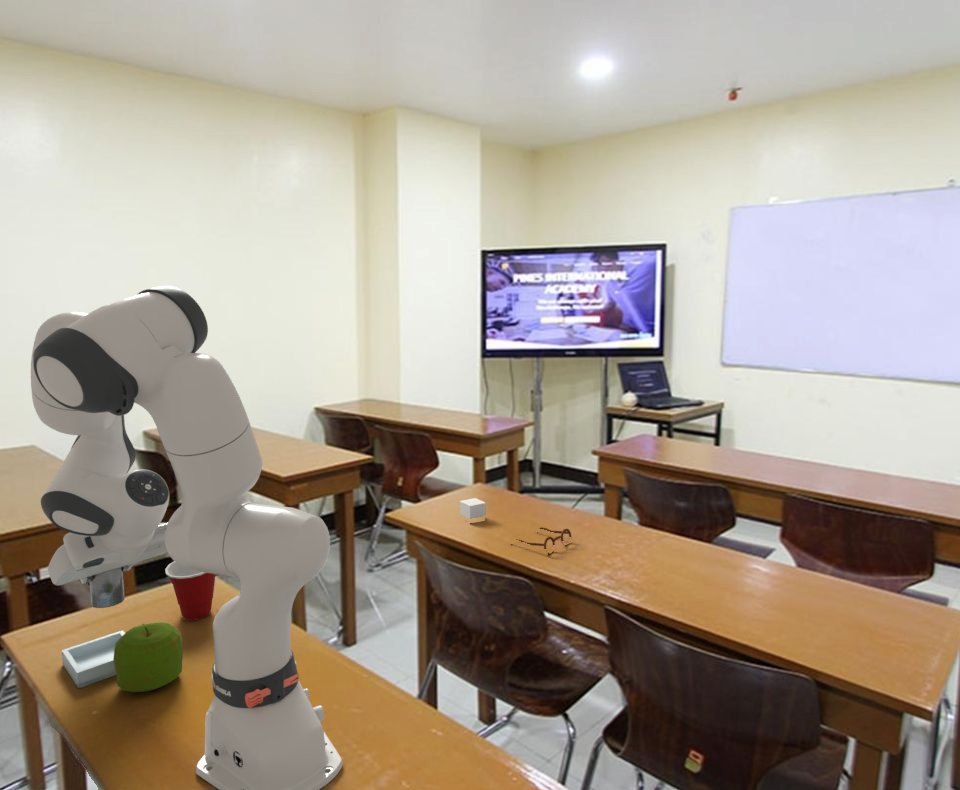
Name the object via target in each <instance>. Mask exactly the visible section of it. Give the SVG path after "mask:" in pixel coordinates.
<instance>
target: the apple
mask: <svg viewBox="0 0 960 790" xmlns="http://www.w3.org/2000/svg"><path fill="white" fill-rule="evenodd" d="M183 653H184V652H183V637H182V634H181V632H180V631H179V629H178V628H176V627H175V626H174V625H172V624H170V623H167V622H151V623H145V624H140V625H137V626H133V627H132V628H131V629H128V630H127V631H126V632H125V634H124V635H123V636H122V637H121V638H120V639H119V640H118V641H117V642H116V645H115V650H114V664H115V670H116V675H115V676H116V681H117V687H119V689H121V691H122V692H123V691H124V692H131V693H146V692H150V691H155V690H157V689H159V688H162V687H164V686H166V685H168V684H169V683H171V682H172V681H174V680H176V679H178V677H179V676H180V674H182V673H181V672H182V670H183V669H182V668H183Z"/></svg>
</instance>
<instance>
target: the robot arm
mask: <svg viewBox="0 0 960 790" xmlns="http://www.w3.org/2000/svg"><path fill="white" fill-rule="evenodd" d="M208 326H209V325H208V321H207V318H206V316H205V312H204V311H203V309H202V307H201V306H200V305H199V303H198V302H197V301H196V300H195V299H194V298H193V297H192V296H191V295H190V294H189V293H187V292H186V291H184V290H183V289H181V288H178V287H176V286H172V285H161V286H155V287H151V288H150V287H149V288H147V289H144V290H141V291H139V292H138V293H137V294H136V295H131V296H129V297H127V298H123V299H120V300H118V301H116V302H113V303H111V304H109V305H108V304H107V305H102V306H100V307H99V308H98V307H97V309H94V310H93V311H91V312H89V313H87V312H78V311H67V312H62V313H59V314H56V315H53V316H52V317H49V318H47V319H46V320H45V321H44V322H43V323H42V324H41V325H40V326H39V328H38V330H37V331H36V334H35V337H34V342H33V347H32V351H31V360H30V386H31V387H30V388H31V398H32V404H33V407H34V410H35V413H36V414H37V416H38V419H39V420H40V421H41V422H42V423H43V424H44V425H46V426H47V427H48V428H50V429H52V430H53V431H56V432H58V433H60V434H61V433H62V434H65V435H69V436H70V435H71V436H76V438H75V440H74V441H73V444H72V446H71V448H70V449H69V450H70V451H68V453H67V455H66V456H65V459H64V460H63V462H62V463H61V465H60V467H59V469H58V470H57V472H56V473H55V475H54V476H53V478H52V480H51V482H49V484H48V486H47V488H46V489H45V491H44V494H43V495H42V496H41V497H40V506H41V509H42V511H43V513H44V515H45V516H46V518H47V520H49V522H51V523H52V524H53V525H54V526H55V527H56V528H58V529H60V530H62V531H65V532H66V534H64V536H63V538H62V539H63V540H62V541H63V544H62V545H61V546H60V547H58V548H57V549H56V551H55V552H54V554H53V555H52V557H51V559H50V561H49V563H48V568H47V571H48V575H49V578H50V579H51V582H52V584H53V585H55V586H62V585H65V584H68V583H73V582H75V581H78V580H79V581H80V583H81V585H85V584H89V583H90V582H91V580H92V579H93V577H92V575H96V574H99V573H102V572H106V571H109V570H112V569H116V568H119V567H122V572H128V571H130V570H131V569H132V567H134V566H135V565H137V564H138V563H140V562H142V561H146V560H149V559H153V558H155V557H158V556H162V555H164V554H166V553H167V554H168V555H169V557H170V558H171V559H172V561H173V562H174V561H176V562H178V563H180V564H183V565H185V566H187V567H189V568H192V569H194V570H197V571H200V572H205V573H212V574H216V575H217V576H218V575H219V576H226V577H232V578H236V579H238V581H239V585H240V593H239V594H238V595H236V596H234V597H231V599H229V600H228V601H227V602H225V603H224V604H223V605H222V606H221V607H220V609H219V610H218V611H217V612H216V614H215V617H214V619H213V621H212V638H213V641H212V642H213V656H214V663H213V664H212V668H211V669H212V670H211V671H212V672H211V685H212V691H213V694H214V696H213V698H212V701H211V703H210V705H209V707H208V709H207V711H206V714H205V717H204V754H203V755H202V757H201V758H200V759H199V761H197V762H196V767H195V773H196V775H197V776H198V777H201V778H202V779H203V780H205V781H206V782H207V783H209V784H211V786H213V787H215V788H216V789H218V790H320V789H322V788H323V787H325V786H326V785H327V784H329V783H330V782H331V781H332V780H333V779H334V778H335V777H336V776H337V775H338V774H339V772H340V771H341V770H342V768H343V765H344V763H343V758H342V757H341V755H340V754H339V752H338V750H337V749H336V747H335V746H334V744H333V743H332V741H331V739H330V738H329V737H328V735H327V734H326V732H325V730H324V729H323V726H322V723H321V722H323V721H324V720H325V711H324V710H325V709H324V707H323V706H322V705H321V704H319V705H316V706H314V707H313V705H312V703H311V701H310V699H309V697H310V691H309V688H307V687H306V688H303V686H302V683H301V682H300V678H299V677H300V674H299V671H298V668H297V667H298V666H297V660H296V659H295V655H294V652H293V650H292V649H291V621H292V620H291V619H292V617H291V616H292V609H293V604H294V602H295V599H296V597H297V594H298V593H299V591H300V590H301V589H302V587H304V585H306V584H307V583H309V582H310V581H312V580H313V579H315V577H316V576H317V575H319V573H321V571H322V569H323V568H324V567H325V565H326V563H327V561H328V558H329V556H330V551H331V536H330V532H329V529H328V526H327V525H326V523H325V522H324V520H323V519H322V518H321V517H320V516H318V515H315V514H312V513H309V512H308V511H304V510H301V509H297V508H295V507H291V506H290V507H288V506H281V505H274V504H273V505H272V504H262V503H257V502H253V501H251V499H249V498H248V497H247V496H246V495H245V494H246V493H248V492H249V491H250V490H251V489H253V487H254V486H255V485H256V483H257V482H258V480H259V478H260V476H261V472H262V468H263V458H262V456H261V453H260V450H259V446H258V443H257V441H256V438H255V435H254V432H253V429H252V426H251V422H250V419H249V417H248V414H247V411H246V408H245V406H244V404H243V402H242V399H241V397H240V395H239V393H238V390H237V388H236V386H235V385H234V383H233V381H232V379H231V377H230V376H229V374H228V372H227V371H226V369H225V367H224V366H223V364H221V362H219V361H218V360H217V359H216V358H215V357H213V356H210V355H208V354H204V353H201V352H197V351H198V350H199V349H200V348H202V346H203V345H204V344H205V342H206V340H207V338H208V333H209V329H208ZM134 404H136V405H138V406H140V407H142V408H143V409H144V410H145V411H147V412H148V414H149V415H150V417H151V418H152V420H153V422H154V424H155V427H156V429H157V431H158V434H159V438H160V440H161V442H162V445H163V447H164V451H165V452H166V455H167V457H168V460H169V462H170V464H171V468H172V470H173V472H174V475H175V478H176V482H177V483H178V485H179V490H180V494H181V505H180V506H179V507H178V508H177V509H176V510H175V511H174V512H173V513H172V515H171V517H170V518H169V520H168V522H162V521H163V519H164V517H165V514H166V511H167V510H168V509H167V508H168V506H169V502H170V490H169V487H168V485H167V482H166V481H165V479H164V478H163V477H162V476H161V475H160V474H158V473H157V472H154V471H152V470H149V469H136V470H133V471H130V470H131V468H132V466H133V465H134V463H135V462H136V456H137V454H136V449H135V447H134V445H133V443H132V441H131V440H130V438H129V436H128V433H127V431H126V423H125V415H127V414H128V413H130V412H131V410H132V409H133V408H134ZM67 532H68V533H67Z"/></svg>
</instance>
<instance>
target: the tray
mask: <svg viewBox="0 0 960 790" xmlns="http://www.w3.org/2000/svg"><path fill="white" fill-rule="evenodd" d="M125 633H126V632H125V631H124V630H123V629H122V630H120V631H117V632H113V633H110V634H107V635H104V636H100V637H98V638H96V639H92V640H89V641H86V642H83V643H80V644H76V645H73V646H70V647H67V648H65V649H62V650H61V658H62V666H63V667H64V669H65V670H66V671H67V673H68V675H69V677H70V678H71V679H72V681H73V682H74V684H75V686H77V688H78V689H81V688H84V687H86V686H90V685H92V684H94V683H98V682H100V681H103V680H106V679H108V678H112V677H114V676H116V670H115V664H114V650H115V645H116V642H117V641H118V640H119V639H120V638H121V637H122V636H123V635H124V634H125Z"/></svg>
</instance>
